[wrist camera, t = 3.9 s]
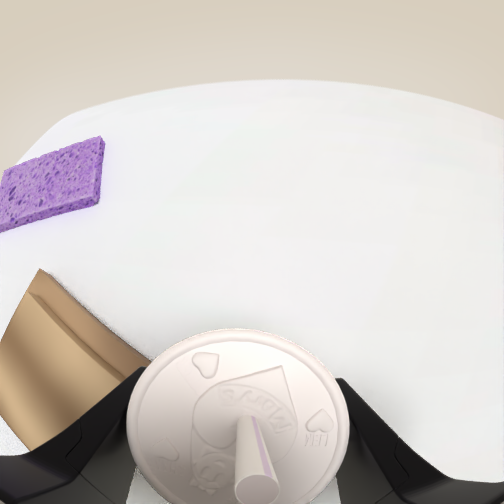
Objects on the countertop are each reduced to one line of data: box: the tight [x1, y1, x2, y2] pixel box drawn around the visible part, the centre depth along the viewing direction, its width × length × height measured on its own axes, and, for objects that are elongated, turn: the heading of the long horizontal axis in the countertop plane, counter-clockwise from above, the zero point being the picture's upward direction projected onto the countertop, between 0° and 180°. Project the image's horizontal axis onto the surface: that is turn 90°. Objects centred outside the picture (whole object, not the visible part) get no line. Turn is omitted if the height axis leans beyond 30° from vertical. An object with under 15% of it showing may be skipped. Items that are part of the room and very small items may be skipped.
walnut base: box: [0, 269, 151, 451], centre depth 13 cm, size 12×12×3 cm
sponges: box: [0, 136, 105, 232], centre depth 20 cm, size 7×13×2 cm, turn 101°
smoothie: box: [126, 329, 349, 504], centre depth 9 cm, size 6×6×14 cm
